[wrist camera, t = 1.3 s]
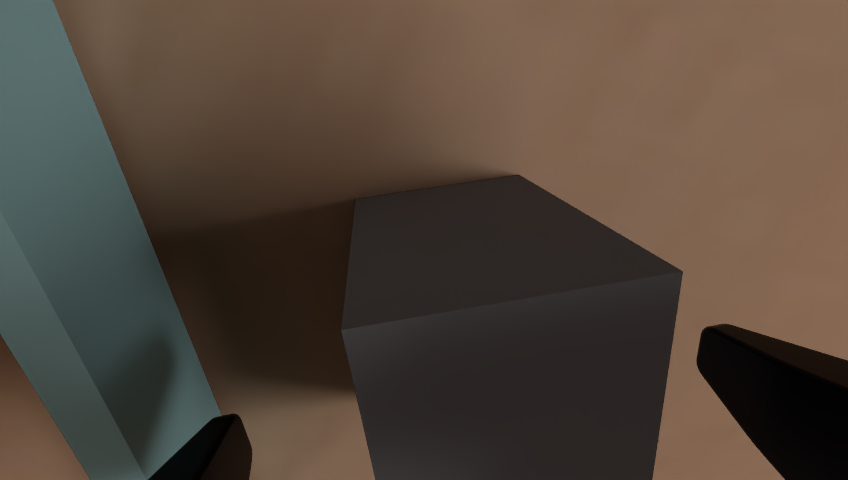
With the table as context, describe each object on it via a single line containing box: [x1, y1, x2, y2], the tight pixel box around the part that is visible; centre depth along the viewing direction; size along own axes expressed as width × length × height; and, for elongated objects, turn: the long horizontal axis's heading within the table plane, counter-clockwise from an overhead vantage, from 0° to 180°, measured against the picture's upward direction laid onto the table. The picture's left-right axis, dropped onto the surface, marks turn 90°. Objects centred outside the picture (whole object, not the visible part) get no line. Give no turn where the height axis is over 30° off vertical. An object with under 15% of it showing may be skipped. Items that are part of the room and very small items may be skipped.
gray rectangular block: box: [341, 175, 683, 480], centre depth 8 cm, size 6×4×6 cm, turn 7°
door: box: [0, 0, 221, 480], centre depth 8 cm, size 15×2×3 cm, turn 7°
